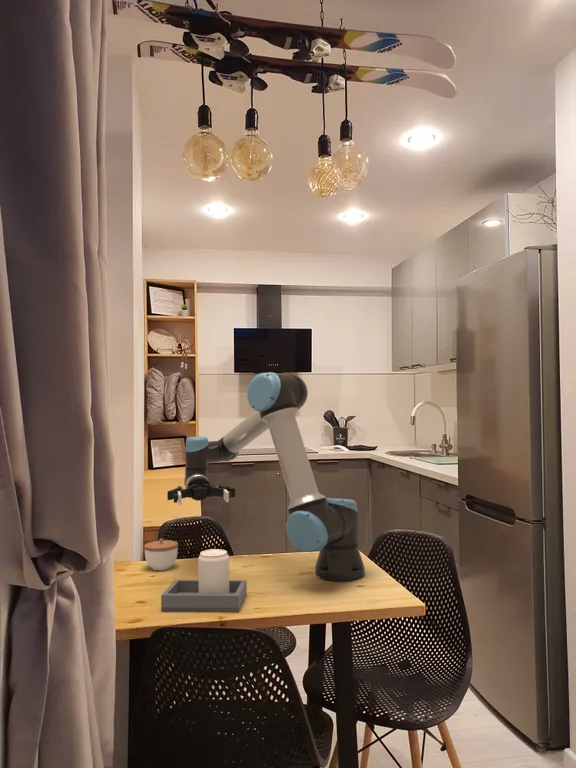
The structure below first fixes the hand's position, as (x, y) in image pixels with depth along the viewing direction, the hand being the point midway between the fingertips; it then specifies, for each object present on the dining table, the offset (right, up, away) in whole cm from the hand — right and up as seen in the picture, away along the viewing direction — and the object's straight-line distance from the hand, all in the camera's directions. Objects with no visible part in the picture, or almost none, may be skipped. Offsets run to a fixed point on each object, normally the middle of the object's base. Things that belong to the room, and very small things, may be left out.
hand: (204, 498), depth 157 cm
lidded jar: (-17, -27, +22) cm, 39 cm away
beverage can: (+4, -24, -12) cm, 27 cm away
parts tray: (+2, -25, -12) cm, 28 cm away
